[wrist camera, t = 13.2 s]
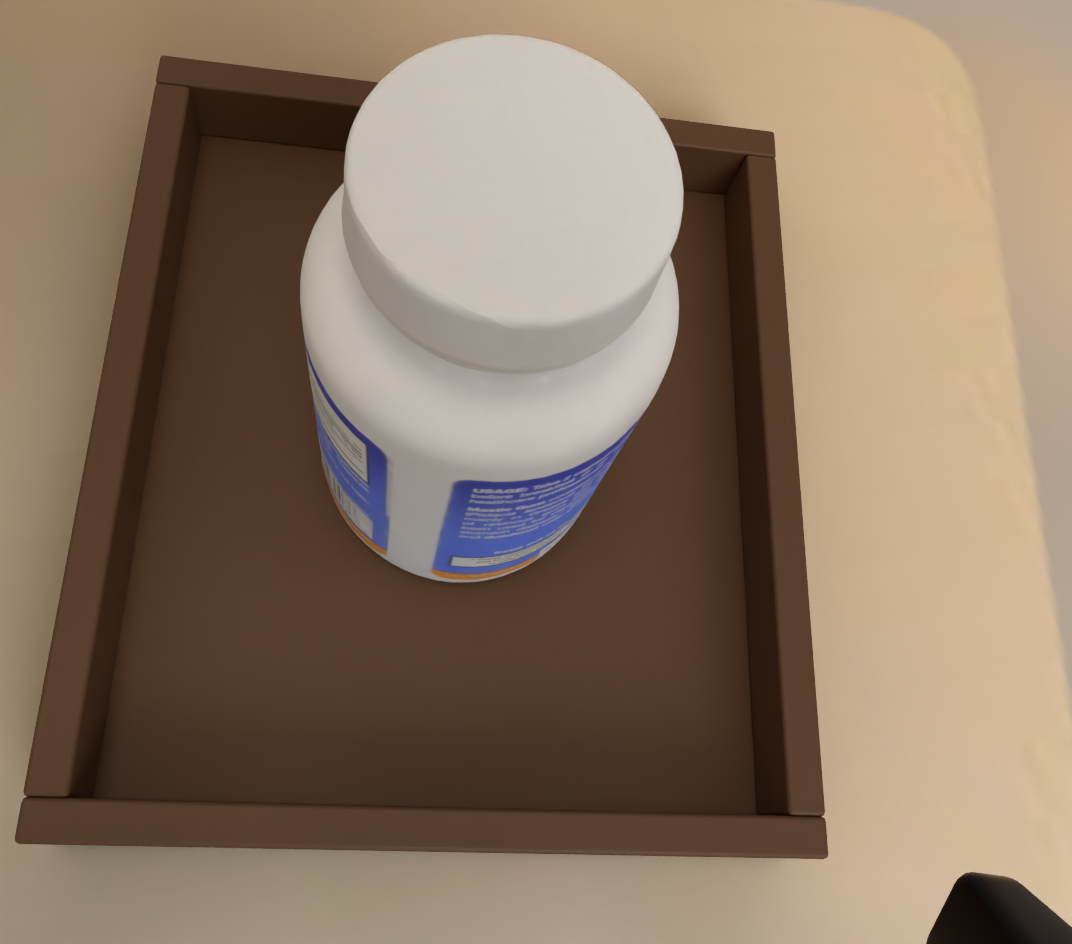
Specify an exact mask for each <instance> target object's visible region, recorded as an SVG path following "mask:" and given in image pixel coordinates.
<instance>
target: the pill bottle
mask: <svg viewBox="0 0 1072 944" xmlns="http://www.w3.org/2000/svg"><path fill="white" fill-rule="evenodd" d="M682 212H683V181H682V172H681V168H680V165H679V161H678V157H677V153H676V151H675V148H674V146H673V144H672V141H671V139H670V136H669V135H668V133H667V131H666V129H665V127H664V125H663V123H662V122H661V120H660V119H659V117H658V115H657V114H656V113H655V111H654V110H653V109H652V107H651V106H650V105H649V104H648V102H647V101H646V100H645V99H644V98H643V97H642V96H641V94H640V93H639V92H638V91H637V90H636V89H634V88H633V87H632V86H631V85H630V84H629V83H628V82H627V81H626V80H624V79H623V78H621V77H620V76H619V75H617V74H616V73H615V72H614V71H613V70H611V69H609V68H608V67H606V66H605V65H603V64H602V63H600V62H598V61H597V60H595V59H593V58H591V57H589V56H587V55H585V54H583V53H581V52H579V51H576V50H574V49H572V48H569V47H567V46H564V45H561V44H558V43H555V42H551V41H546V40H541V39H537V38H532V37H527V36H517V35H503V34H489V35H479V36H473V37H466V38H460V39H455V40H450V41H448V42H443V43H440V44H439V45H437V46H433V47H430V48H428V49H426V50H424V51H421V52H419V53H417V54H416V55H414V56H412V57H410V58H409V59H407V60H405V61H404V62H402V63H401V64H400V65H398V66H397V67H396V68H395V69H393V70H392V71H391V72H390V73H389V74H387V75H386V76H385V77H384V78H383V79H382V80H381V81H380V82H379V83H378V84H377V85H376V87H375V88H374V89H373V90H372V92H371V93H370V94H369V95H368V97H367V98H366V100H365V101H364V103H363V104H362V106H361V108H360V110H359V112H358V114H357V116H356V118H355V120H354V122H353V125H352V127H351V129H350V133H349V137H348V141H347V145H346V152H345V162H344V183H343V184H342V185H341V186H340V187H339V188H338V190H337V191H336V192H335V193H334V194H333V195H332V197H331V198H330V200H329V201H328V203H327V204H326V206H325V207H324V209H323V210H322V212H321V214H320V216H319V218H318V219H317V221H316V223H315V225H314V227H313V230H312V232H311V235H310V238H309V240H308V243H307V247H306V250H305V254H304V258H303V263H302V269H301V280H300V305H301V315H302V325H303V334H304V342H305V348H306V354H307V361H308V369H309V375H310V382H311V388H312V395H313V402H314V408H315V415H316V422H317V430H318V437H319V444H320V450H321V460H322V465H323V469H324V473H325V476H326V480H327V483H328V486H329V489H330V491H331V494H332V496H333V499H334V501H335V503H336V505H337V507H338V509H339V511H340V513H341V515H342V516H343V517H344V519H345V520H346V522H347V523H348V525H349V526H350V527H351V529H352V530H353V531H354V532H355V533H356V535H357V536H358V537H359V538H360V539H361V540H362V541H363V542H364V543H365V544H366V545H367V546H368V547H370V548H371V549H372V550H373V551H375V552H376V553H377V554H378V555H380V556H381V557H383V558H384V559H386V560H387V561H389V562H390V563H392V564H394V565H396V566H398V567H399V568H401V569H403V570H406V571H408V572H410V573H413V574H416V575H419V576H422V577H426V578H429V579H433V580H438V581H445V582H478V581H485V580H490V579H494V578H498V577H501V576H504V575H507V574H510V573H512V572H515V571H517V570H519V569H521V568H524V567H526V566H527V565H529V564H530V563H532V562H534V561H535V560H537V559H538V558H540V557H541V556H543V555H544V554H545V553H546V552H547V551H549V550H550V549H551V548H552V547H553V546H554V545H555V544H556V543H557V542H558V541H559V540H560V539H561V538H562V537H563V536H564V535H565V534H566V532H567V531H568V530H569V529H570V528H571V526H572V525H573V524H574V522H575V521H576V519H577V518H578V516H579V515H580V513H581V512H582V510H583V508H584V507H585V506H586V504H587V502H588V501H589V499H590V497H591V496H592V494H593V493H594V491H595V489H596V488H597V486H598V485H599V483H600V481H601V480H602V478H603V477H604V475H605V474H606V472H607V470H608V469H609V467H610V466H611V464H612V462H613V461H614V459H615V457H616V456H617V454H618V453H619V451H620V450H621V448H622V446H623V445H624V443H625V442H626V440H627V439H628V437H629V435H630V434H631V432H632V431H633V429H634V428H635V426H636V425H637V423H638V422H639V420H640V419H641V417H642V415H643V414H644V412H645V411H646V409H647V407H648V406H649V404H650V402H651V401H652V399H653V397H654V396H655V394H656V392H657V390H658V388H659V386H660V384H661V382H662V379H663V377H664V375H665V373H666V370H667V368H668V365H669V363H670V360H671V357H672V353H673V350H674V347H675V342H676V337H677V332H678V321H679V295H678V285H677V279H676V275H675V270H674V265H673V263H672V260H671V256H670V254H671V251H672V249H673V247H674V244H675V242H676V239H677V236H678V232H679V229H680V225H681V218H682Z"/></svg>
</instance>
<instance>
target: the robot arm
mask: <svg viewBox="0 0 1072 944" xmlns="http://www.w3.org/2000/svg"><path fill="white" fill-rule="evenodd" d="M926 944H1072V927H1071V926H1070V925H1068V924H1067V923H1066V922H1065V921H1064V920H1063V919H1061V918H1060V917H1059V916H1058V915H1057V914H1056V913H1054V912H1053V911H1052V910H1051V909H1050V908H1048V907H1047V906H1046V905H1045V904H1044V903H1043V902H1041V901H1040V900H1039V899H1038V898H1037V897H1036V896H1034V895H1033V894H1032V893H1031V892H1030V891H1029V890H1027V889H1026V888H1025V887H1024V886H1023V885H1021V884H1020V883H1019V882H1018V881H1016V880H1014V879H1011V878H1008V877H1005V876H997V875H990V874H983V873H975V872H970V873H965V874H964V875H962V876H961V877H960V878H958V880H957V881H956V883H955V884H954V886H953V888H952V890H951V892H950V894H949V896H948V898H947V900H946V902H945V904H944V906H943V908H942V910H941V912H940V914H939V916H938V918H937V920H936V922H935V924H934V926H933V928H932V930H931V932H930V934H929V936H928V939H927V943H926Z"/></svg>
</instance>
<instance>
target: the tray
mask: <svg viewBox="0 0 1072 944" xmlns="http://www.w3.org/2000/svg"><path fill="white" fill-rule="evenodd" d="M156 82H157V84H156V86H155V91H154V96H153V101H152V107H151V112H150V117H149V123H148V128H147V134H146V139H145V144H144V150H143V155H142V160H141V166H140V171H139V176H138V182H137V187H136V192H135V198H134V203H133V208H132V214H131V219H130V224H129V230H128V235H127V241H126V246H125V251H124V257H123V262H122V267H121V273H120V278H119V283H118V289H117V294H116V299H115V305H114V310H113V315H112V321H111V326H110V331H109V337H108V342H107V348H106V353H105V358H104V364H103V369H102V374H101V380H100V385H99V390H98V396H97V401H96V406H95V412H94V417H93V422H92V428H91V433H90V438H89V444H88V449H87V455H86V460H85V465H84V471H83V476H82V481H81V487H80V492H79V497H78V503H77V508H76V513H75V519H74V524H73V529H72V535H71V540H70V545H69V551H68V556H67V562H66V567H65V572H64V578H63V583H62V588H61V594H60V599H59V604H58V610H57V615H56V620H55V626H54V631H53V636H52V642H51V647H50V652H49V658H48V663H47V669H46V674H45V679H44V685H43V690H42V695H41V701H40V706H39V711H38V717H37V722H36V727H35V733H34V738H33V743H32V749H31V754H30V759H29V765H28V770H27V776H26V781H25V786H24V795H26V796H28V797H26V798H24V799H23V801H22V803H21V808H20V813H19V819H18V824H17V829H16V835H15V841H16V842H17V843H19V844H54V845H108V846H161V847H214V848H267V849H321V850H374V851H427V852H481V853H534V854H587V855H641V856H694V857H747V858H800V859H825V858H827V856H828V847H827V834H826V821H825V819H824V818H823V817H821V816H823V815H824V812H825V808H824V795H823V782H822V769H821V755H820V742H819V729H818V716H817V703H816V689H815V676H814V663H813V650H812V636H811V623H810V610H809V597H808V584H807V570H806V557H805V544H804V531H803V517H802V504H801V491H800V478H799V465H798V451H797V438H796V425H795V412H794V398H793V385H792V372H791V359H790V346H789V332H788V319H787V306H786V293H785V280H784V266H783V253H782V240H781V227H780V213H779V200H778V187H777V174H776V161H775V159H774V158H775V142H774V133H773V132H768V131H760V130H752V129H744V128H736V127H728V126H720V125H712V124H704V123H697V122H689V121H681V120H673V119H665V118H659V119H660V120H661V122H662V123H663V125H664V127H665V129H666V131H667V133H668V135H669V136H670V139H671V141H672V144H673V146H674V148H675V151H676V153H677V157H678V161H679V165H680V168H681V172H682V181H683V212H682V218H681V225H680V229H679V232H678V236H677V239H676V242H675V244H674V247H673V249H672V251H671V254H670V256H671V260H672V263H673V265H674V270H675V275H676V279H677V285H678V295H679V321H678V332H677V337H676V342H675V347H674V350H673V353H672V357H671V360H670V363H669V365H668V368H667V370H666V373H665V375H664V377H663V379H662V382H661V384H660V386H659V388H658V390H657V392H656V394H655V396H654V397H653V399H652V401H651V402H650V404H649V406H648V407H647V409H646V411H645V412H644V414H643V415H642V417H641V419H640V420H639V422H638V423H637V425H636V426H635V428H634V429H633V431H632V432H631V434H630V435H629V437H628V439H627V440H626V442H625V443H624V445H623V446H622V448H621V450H620V451H619V453H618V454H617V456H616V457H615V459H614V461H613V462H612V464H611V466H610V467H609V469H608V470H607V472H606V474H605V475H604V477H603V478H602V480H601V481H600V483H599V485H598V486H597V488H596V489H595V491H594V493H593V494H592V496H591V497H590V499H589V501H588V502H587V504H586V506H585V507H584V508H583V510H582V512H581V513H580V515H579V516H578V518H577V519H576V521H575V522H574V524H573V525H572V526H571V528H570V529H569V530H568V531H567V532H566V534H565V535H564V536H563V537H562V538H561V539H560V540H559V541H558V542H557V543H556V544H555V545H554V546H553V547H552V548H551V549H550V550H549V551H547V552H546V553H545V554H544V555H543V556H541V557H540V558H538V559H537V560H535V561H534V562H532V563H530V564H529V565H527V566H526V567H524V568H521V569H519V570H517V571H515V572H512V573H510V574H507V575H504V576H501V577H498V578H494V579H490V580H485V581H478V582H445V581H438V580H433V579H429V578H426V577H422V576H419V575H416V574H413V573H410V572H408V571H406V570H403V569H401V568H399V567H398V566H396V565H394V564H392V563H390V562H389V561H387V560H386V559H384V558H383V557H381V556H380V555H378V554H377V553H376V552H375V551H373V550H372V549H371V548H370V547H368V546H367V545H366V544H365V543H364V542H363V541H362V540H361V539H360V538H359V537H358V536H357V535H356V533H355V532H354V531H353V530H352V529H351V527H350V526H349V525H348V523H347V522H346V520H345V519H344V517H343V516H342V515H341V513H340V511H339V509H338V507H337V505H336V503H335V501H334V499H333V496H332V494H331V491H330V489H329V486H328V483H327V480H326V476H325V473H324V469H323V465H322V460H321V450H320V444H319V437H318V430H317V422H316V415H315V408H314V402H313V395H312V388H311V382H310V375H309V369H308V361H307V354H306V348H305V342H304V334H303V325H302V315H301V305H300V280H301V269H302V263H303V258H304V254H305V250H306V247H307V243H308V240H309V238H310V235H311V232H312V230H313V227H314V225H315V223H316V221H317V219H318V218H319V216H320V214H321V212H322V210H323V209H324V207H325V206H326V204H327V203H328V201H329V200H330V198H331V197H332V195H333V194H334V193H335V192H336V191H337V190H338V188H339V187H340V186H341V185H342V184H343V183H344V162H345V152H346V145H347V141H348V137H349V133H350V129H351V127H352V125H353V122H354V120H355V118H356V116H357V114H358V112H359V110H360V108H361V106H362V104H363V103H364V101H365V100H366V98H367V97H368V95H369V94H370V93H371V92H372V90H373V89H374V88H375V87H376V85H377V84H378V83H377V82H369V81H361V80H353V79H345V78H337V77H329V76H321V75H313V74H305V73H297V72H289V71H281V70H273V69H265V68H257V67H249V66H241V65H233V64H225V63H217V62H209V61H201V60H193V59H185V58H177V57H169V56H161V58H160V63H159V68H158V73H157V79H156Z"/></svg>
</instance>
